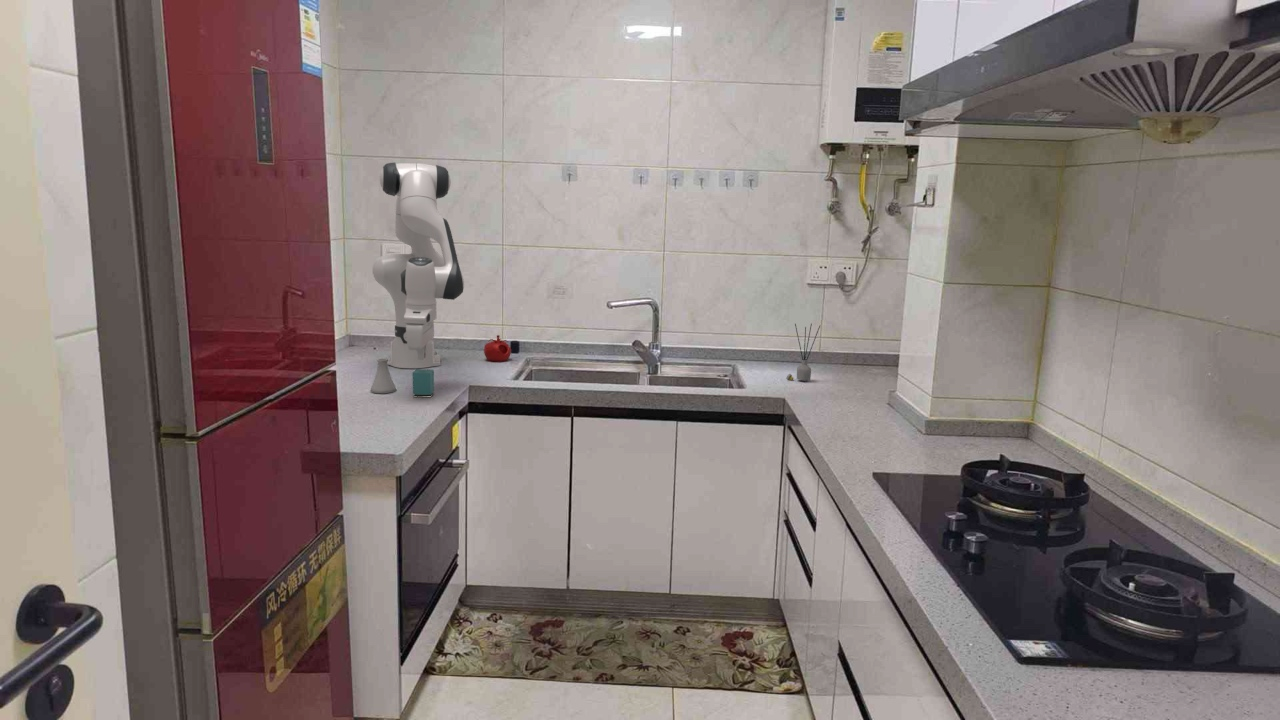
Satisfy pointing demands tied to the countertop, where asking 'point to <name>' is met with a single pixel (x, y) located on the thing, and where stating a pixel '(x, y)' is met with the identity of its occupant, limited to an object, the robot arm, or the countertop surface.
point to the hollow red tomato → (497, 350)
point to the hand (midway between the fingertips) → (421, 359)
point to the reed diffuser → (803, 362)
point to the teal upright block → (423, 382)
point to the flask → (383, 378)
